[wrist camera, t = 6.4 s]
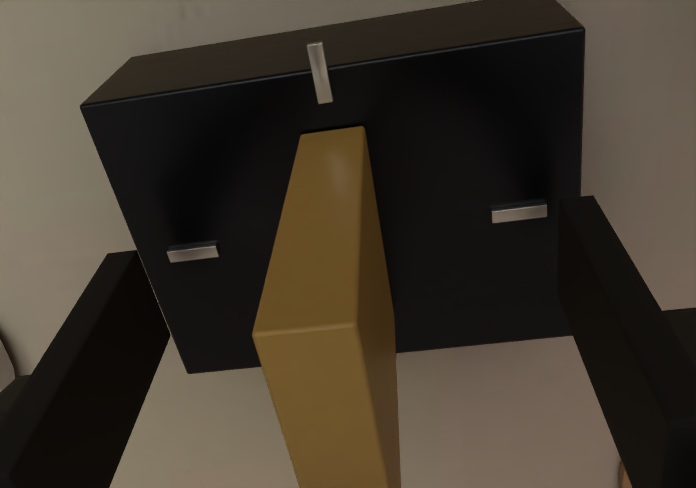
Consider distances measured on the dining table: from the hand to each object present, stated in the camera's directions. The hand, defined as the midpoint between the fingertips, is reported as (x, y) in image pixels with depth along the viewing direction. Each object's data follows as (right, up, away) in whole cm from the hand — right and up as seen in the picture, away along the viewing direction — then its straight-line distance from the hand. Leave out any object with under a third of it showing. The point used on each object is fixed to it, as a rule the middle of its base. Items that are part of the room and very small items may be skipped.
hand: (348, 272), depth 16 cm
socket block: (0, +3, +5) cm, 6 cm away
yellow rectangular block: (0, +1, +2) cm, 2 cm away
